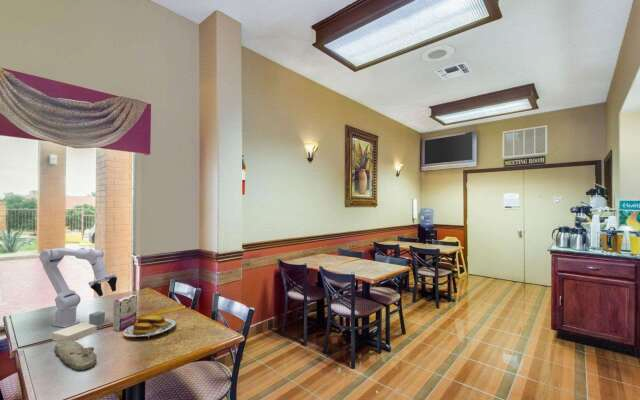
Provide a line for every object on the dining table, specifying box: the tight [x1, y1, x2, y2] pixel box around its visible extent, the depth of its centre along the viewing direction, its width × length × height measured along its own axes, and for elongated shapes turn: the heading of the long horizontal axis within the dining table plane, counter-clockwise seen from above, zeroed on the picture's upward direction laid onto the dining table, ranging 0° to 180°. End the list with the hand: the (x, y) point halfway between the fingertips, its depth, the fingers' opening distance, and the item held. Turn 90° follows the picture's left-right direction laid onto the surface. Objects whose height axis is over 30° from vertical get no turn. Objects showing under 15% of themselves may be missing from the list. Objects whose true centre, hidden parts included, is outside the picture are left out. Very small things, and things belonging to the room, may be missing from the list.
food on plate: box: [122, 314, 177, 340], centre depth 162 cm, size 25×25×7 cm
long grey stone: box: [54, 339, 97, 371], centre depth 133 cm, size 35×5×10 cm
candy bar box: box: [112, 294, 138, 332], centre depth 166 cm, size 11×5×16 cm, turn 168°
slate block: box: [88, 311, 106, 327], centre depth 169 cm, size 5×5×6 cm
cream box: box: [51, 322, 98, 343], centre depth 153 cm, size 11×14×4 cm
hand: (108, 293), depth 165 cm, fingers open, 7 cm apart
